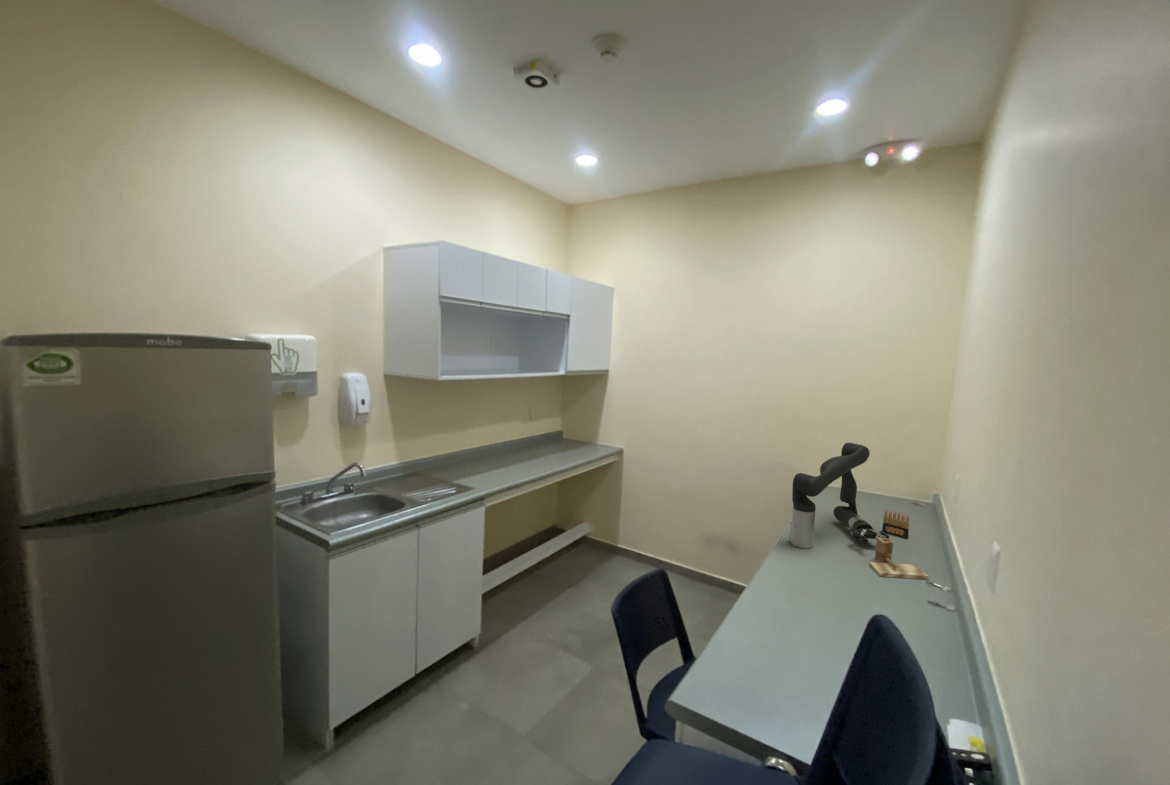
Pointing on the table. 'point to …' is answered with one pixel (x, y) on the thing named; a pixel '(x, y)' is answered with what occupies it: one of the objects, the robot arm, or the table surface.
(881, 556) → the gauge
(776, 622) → the table surface
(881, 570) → the board
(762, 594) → the table surface
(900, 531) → the ammunition clip
